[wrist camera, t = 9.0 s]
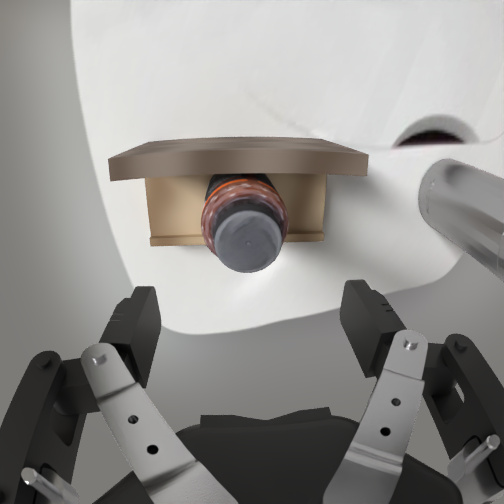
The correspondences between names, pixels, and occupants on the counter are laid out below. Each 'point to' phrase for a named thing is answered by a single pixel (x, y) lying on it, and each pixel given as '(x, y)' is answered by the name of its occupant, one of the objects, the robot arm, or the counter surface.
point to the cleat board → (229, 162)
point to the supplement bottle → (244, 220)
